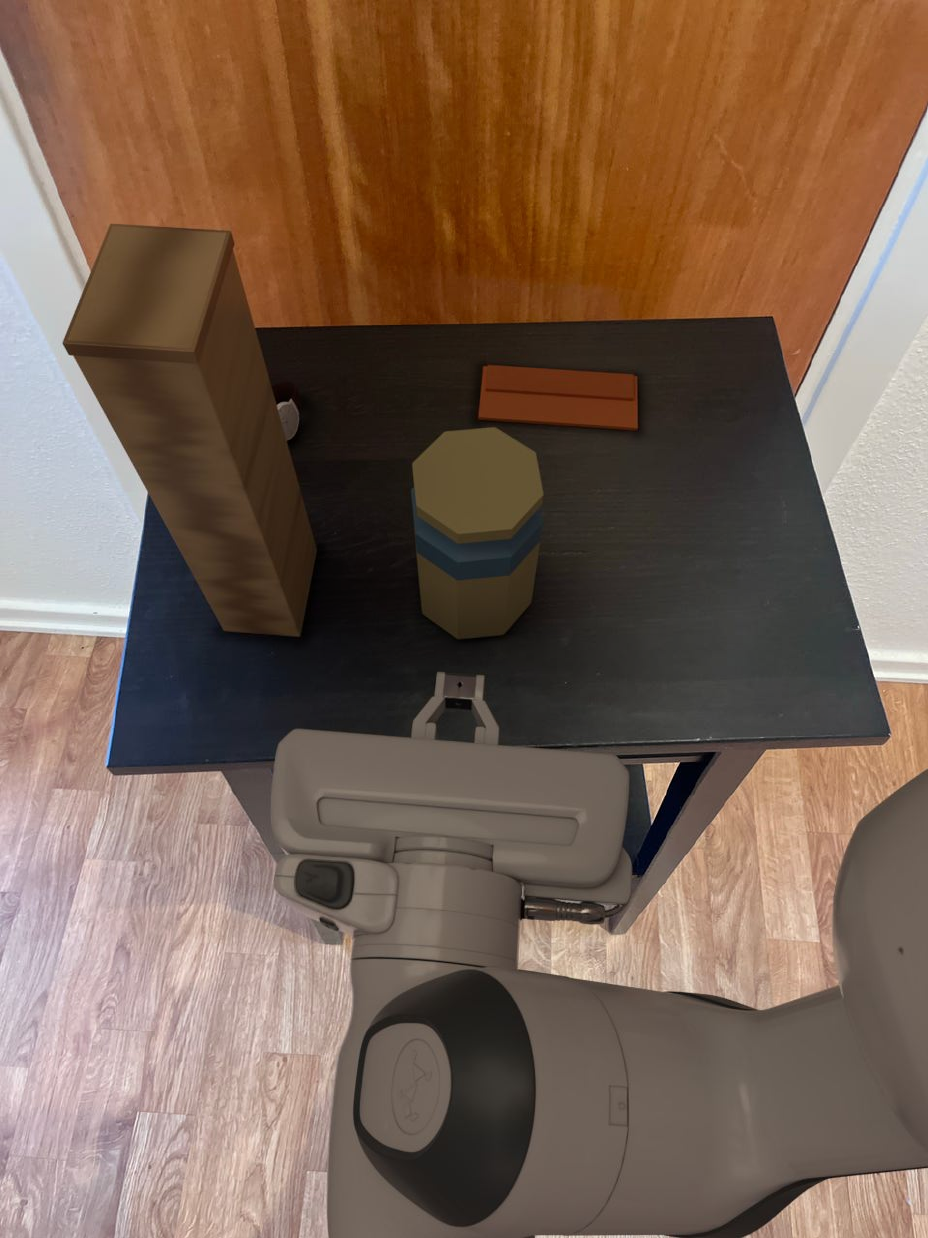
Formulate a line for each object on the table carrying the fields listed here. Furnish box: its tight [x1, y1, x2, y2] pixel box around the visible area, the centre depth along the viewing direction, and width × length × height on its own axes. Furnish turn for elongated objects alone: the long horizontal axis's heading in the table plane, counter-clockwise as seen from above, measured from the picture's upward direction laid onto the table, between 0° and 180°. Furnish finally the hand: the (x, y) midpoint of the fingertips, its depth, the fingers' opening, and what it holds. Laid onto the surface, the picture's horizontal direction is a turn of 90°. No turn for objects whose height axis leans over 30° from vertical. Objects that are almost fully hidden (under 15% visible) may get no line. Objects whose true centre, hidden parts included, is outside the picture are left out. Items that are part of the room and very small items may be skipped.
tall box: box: [62, 223, 318, 638], centre depth 55 cm, size 6×8×30 cm
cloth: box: [477, 364, 639, 431], centre depth 77 cm, size 14×6×1 cm, turn 85°
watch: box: [271, 380, 303, 442], centre depth 74 cm, size 8×5×4 cm, turn 153°
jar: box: [410, 426, 544, 640], centre depth 61 cm, size 9×9×15 cm
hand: (461, 676), depth 53 cm, fingers closed
